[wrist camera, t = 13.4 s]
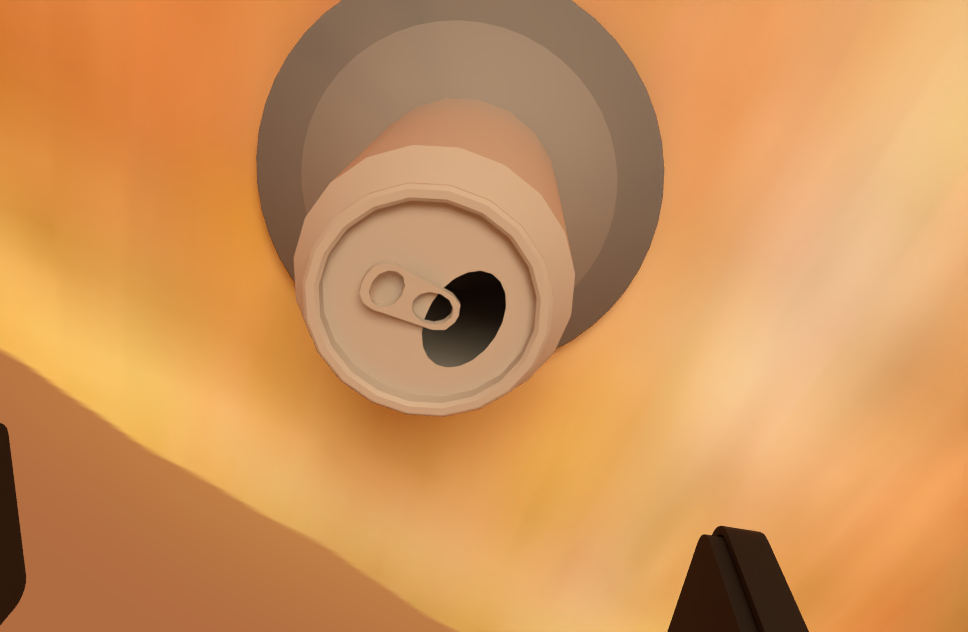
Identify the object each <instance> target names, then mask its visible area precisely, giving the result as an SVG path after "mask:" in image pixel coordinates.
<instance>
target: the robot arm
mask: <svg viewBox="0 0 968 632" xmlns="http://www.w3.org/2000/svg"><path fill="white" fill-rule="evenodd" d="M25 584H26V573H25V564H24V556H23V549H22V540H21V532H20V524H19V516H18V508H17V499H16V492H15V484H14V475H13V467H12V459H11V451H10V443H9V435H8V431H7V428H6V427H5V425H3V424H1V423H0V625H1V624H2V622H3V621H4V620H5V619H6V618H7V617H8V615H9V614H10V613H11V612H12V611H13V609H14V608H15V606H16V605H17V604H18V603H19V601H20V599H21V597H22V594H23V591H24V589H25ZM668 632H809V631H808V629H807V626H806V624H805V622H804V620H803V617H802V615H801V613H800V611H799V609H798V606H797V604H796V602H795V600H794V597H793V595H792V593H791V591H790V589H789V586H788V584H787V582H786V580H785V577H784V575H783V573H782V571H781V568H780V566H779V564H778V562H777V560H776V557H775V555H774V553H773V551H772V548H771V546H770V544H769V542H768V540H767V538H766V536H765V535H764V534H763V533H761V532H757V531H751V530H744V529H738V528H732V527H725V526H719V527H717V528H716V529H715V530H714V532H713V534H712V535H702V536H701V537H700V539H699V541H698V543H697V546H696V549H695V552H694V555H693V558H692V561H691V564H690V567H689V570H688V573H687V576H686V579H685V582H684V585H683V587H682V590H681V593H680V596H679V599H678V602H677V605H676V608H675V611H674V614H673V617H672V620H671V623H670V626H669V629H668Z"/></svg>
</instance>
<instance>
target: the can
mask: <svg viewBox="0 0 968 632" xmlns="http://www.w3.org/2000/svg"><path fill="white" fill-rule="evenodd" d="M294 274H295V291H296V300H297V303H298V306H299V308H300V311H301V313H302V316H303V318H304V321H305V323H306V326H307V328H308V331H309V333H310V336H311V338H312V339H313V342H314V344H315V347H316V349H317V352H318V353H319V355H320V356H321V357H322V358H323V359H324V361H325V362H326V363H327V364H328V366H329V367H330V368H331V369H332V371H333V372H334V373H335V374H336V375H337V377H338V378H339V379H340V380H341V381H342V382H343V383H345V384H346V385H347V386H349V387H350V388H352V389H353V390H355V391H356V392H358V393H359V394H360V395H362V396H363V397H365V398H366V399H368V400H369V401H371V402H372V403H375V404H378V405H381V406H384V407H387V408H390V409H393V410H395V411H398V412H401V413H404V414H408V415H424V416H439V417H445V416H450V415H454V414H459V413H464V412H468V411H473V410H477V409H480V408H482V407H484V406H486V405H488V404H490V403H491V402H493V401H495V400H497V399H499V398H500V397H502V396H504V395H506V394H508V393H509V392H511V391H512V390H513V389H514V388H515V387H517V386H519V385H521V384H523V383H525V382H526V381H527V380H528V379H529V378H530V377H531V376H532V375H533V374H534V373H535V372H536V371H537V370H538V369H539V368H540V367H541V366H542V365H543V363H544V362H545V361H546V360H547V359H548V358H549V357H550V356H551V355H552V354H553V353H554V351H555V349H556V347H557V345H558V343H559V341H560V338H561V336H562V334H563V332H564V330H565V328H566V326H567V323H568V321H569V319H570V317H571V311H572V301H573V291H574V281H575V271H574V266H573V261H572V256H571V251H570V246H569V241H568V236H567V231H566V226H565V221H564V216H563V211H562V206H561V201H560V196H559V191H558V186H557V182H556V178H555V174H554V169H553V165H552V161H551V158H550V157H549V155H548V154H547V152H546V150H545V149H544V147H543V145H542V144H541V142H540V141H539V139H538V137H537V136H536V134H535V133H534V132H533V131H532V130H531V129H530V128H529V127H527V126H526V125H525V124H524V123H523V122H521V121H520V120H519V119H518V118H517V117H515V116H514V115H513V114H512V113H511V112H509V111H507V110H504V109H502V108H499V107H497V106H494V105H492V104H489V103H487V102H484V101H481V100H475V99H456V98H445V99H442V100H438V101H435V102H431V103H428V104H424V105H421V106H417V107H415V108H414V109H412V110H411V111H409V112H408V113H407V114H405V115H404V116H402V117H401V118H399V119H398V120H396V121H395V122H394V123H392V124H391V125H390V126H389V127H388V128H387V129H386V130H384V131H383V132H382V133H381V134H380V135H379V136H378V137H377V138H376V139H375V140H374V141H373V142H372V143H371V144H370V145H369V146H368V147H367V148H366V149H365V150H364V151H363V152H362V153H361V154H360V155H359V156H357V157H356V158H355V159H354V160H353V161H352V162H351V163H350V164H349V165H348V166H347V167H346V168H345V169H344V170H343V171H342V172H341V173H340V174H339V175H338V176H337V177H336V178H335V179H334V180H333V181H332V182H331V183H330V184H329V185H328V187H327V188H326V189H325V191H324V192H323V194H322V195H321V196H320V198H319V199H318V200H317V202H316V203H315V205H314V206H313V207H312V209H311V210H310V212H309V213H308V214H307V216H306V217H305V220H304V223H303V227H302V230H301V234H300V237H299V241H298V244H297V248H296V251H295V255H294Z"/></svg>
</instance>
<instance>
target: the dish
mask: <svg viewBox="0 0 968 632" xmlns="http://www.w3.org/2000/svg"><path fill="white" fill-rule="evenodd" d="M445 98H456V99H475V100H481V101H484V102H487V103H489V104H492V105H494V106H497V107H499V108H502V109H504V110H507V111H509V112H511V113H512V114H513V115H514V116H515V117H517V118H518V119H519V120H520V121H521V122H523V123H524V124H525V125H526V126H527V127H529V128H530V129H531V130H532V131H533V132H534V133H535V134H536V136H537V137H538V139H539V141H540V142H541V144H542V145H543V147H544V149H545V150H546V152H547V154H548V155H549V157H550V158H551V161H552V165H553V169H554V174H555V178H556V182H557V186H558V191H559V196H560V201H561V206H562V211H563V216H564V221H565V226H566V231H567V236H568V241H569V246H570V251H571V256H572V261H573V266H574V271H575V281H574V291H573V301H572V311H571V317H570V319H569V321H568V323H567V326H566V328H565V330H564V332H563V334H562V336H561V338H560V341H559V343H558V345H557V347H556V349H557V348H558V347H560V346H562V345H564V344H566V343H568V342H570V341H571V340H573V339H574V338H576V337H577V336H578V335H580V334H581V333H583V332H584V331H585V330H587V329H588V328H590V327H591V326H592V325H593V324H594V323H595V322H597V321H598V320H599V319H600V318H601V317H602V316H603V315H604V314H605V313H606V312H607V311H609V310H610V308H611V307H612V306H613V305H614V304H615V302H616V301H617V300H618V299H619V298H620V297H621V295H622V294H623V293H624V292H625V291H626V289H627V288H628V286H629V284H630V283H631V281H632V280H633V278H634V277H635V275H636V274H637V272H638V271H639V269H640V267H641V265H642V262H643V260H644V258H645V256H646V254H647V252H648V250H649V248H650V245H651V242H652V239H653V236H654V233H655V230H656V227H657V224H658V220H659V214H660V209H661V204H662V198H663V184H664V160H663V148H662V140H661V136H660V131H659V126H658V122H657V117H656V114H655V111H654V108H653V106H652V103H651V100H650V98H649V95H648V92H647V89H646V87H645V86H644V84H643V82H642V80H641V78H640V76H639V74H638V72H637V71H636V69H635V67H634V65H633V63H632V62H631V60H630V59H629V58H628V56H627V55H626V54H625V52H624V51H623V49H622V48H621V47H620V45H619V44H618V43H617V41H616V40H615V39H614V38H613V37H612V36H611V35H610V34H609V33H608V32H607V31H606V29H605V28H604V27H603V26H602V25H601V24H600V23H599V22H598V21H597V20H596V19H595V18H593V17H592V16H591V15H590V14H588V13H587V12H586V11H585V10H583V9H582V8H581V7H579V6H578V5H577V4H576V3H574V2H573V1H572V0H342V1H340V2H339V3H338V4H336V5H335V6H334V7H332V8H331V9H330V10H328V11H327V12H326V13H324V14H323V15H322V16H321V17H320V18H319V19H318V20H317V21H316V22H315V23H314V24H313V25H312V26H311V27H310V28H309V29H308V30H307V31H306V32H305V33H304V35H303V36H302V37H301V39H300V40H299V41H298V43H297V44H296V45H295V47H294V48H293V49H292V51H291V52H290V53H289V55H288V56H287V58H286V60H285V62H284V64H283V65H282V67H281V69H280V71H279V73H278V74H277V76H276V78H275V80H274V83H273V85H272V88H271V91H270V93H269V96H268V98H267V101H266V104H265V107H264V112H263V116H262V120H261V124H260V129H259V136H258V146H257V157H256V158H257V184H258V190H259V196H260V202H261V208H262V212H263V215H264V219H265V222H266V225H267V229H268V232H269V235H270V237H271V239H272V242H273V244H274V246H275V248H276V251H277V253H278V255H279V257H280V259H281V261H282V262H283V264H284V266H285V267H286V269H287V271H288V272H289V274H290V276H291V277H292V279H293V280H294V282H295V274H294V255H295V251H296V248H297V244H298V241H299V237H300V234H301V230H302V227H303V223H304V220H305V217H306V216H307V214H308V213H309V212H310V210H311V209H312V207H313V206H314V205H315V203H316V202H317V200H318V199H319V198H320V196H321V195H322V194H323V192H324V191H325V189H326V188H327V187H328V185H329V184H330V183H331V182H332V181H333V180H334V179H335V178H336V177H337V176H338V175H339V174H340V173H341V172H342V171H343V170H344V169H345V168H346V167H347V166H348V165H349V164H350V163H351V162H352V161H353V160H354V159H355V158H356V157H357V156H359V155H360V154H361V153H362V152H363V151H364V150H365V149H366V148H367V147H368V146H369V145H370V144H371V143H372V142H373V141H374V140H375V139H376V138H377V137H378V136H379V135H380V134H381V133H382V132H383V131H384V130H386V129H387V128H388V127H389V126H390V125H391V124H392V123H394V122H395V121H396V120H398V119H399V118H401V117H402V116H404V115H405V114H407V113H408V112H409V111H411V110H412V109H414V108H415V107H417V106H421V105H424V104H428V103H431V102H435V101H438V100H442V99H445Z"/></svg>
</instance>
